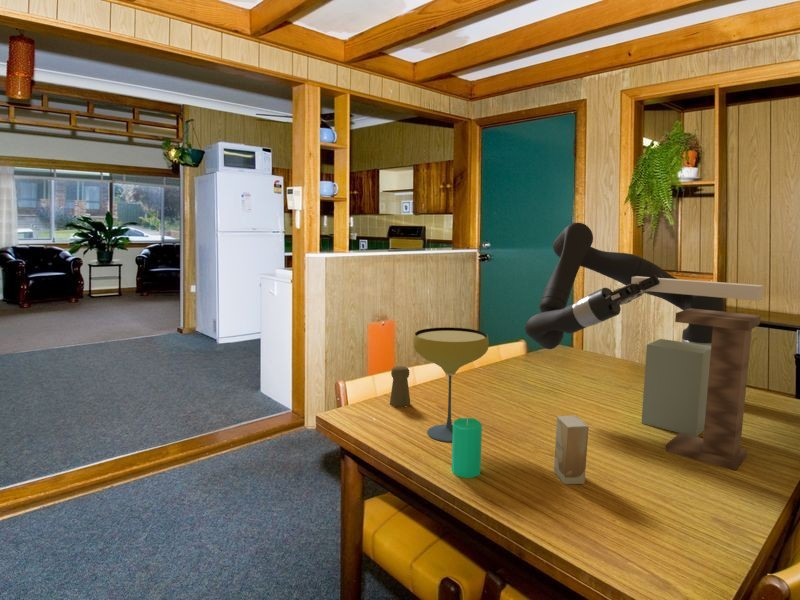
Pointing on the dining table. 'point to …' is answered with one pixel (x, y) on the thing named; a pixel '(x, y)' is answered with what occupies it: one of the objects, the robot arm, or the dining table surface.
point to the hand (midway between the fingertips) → (660, 278)
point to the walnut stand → (721, 389)
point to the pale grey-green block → (676, 386)
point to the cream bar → (706, 288)
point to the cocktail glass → (449, 359)
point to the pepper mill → (400, 387)
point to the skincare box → (571, 449)
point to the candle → (466, 447)
